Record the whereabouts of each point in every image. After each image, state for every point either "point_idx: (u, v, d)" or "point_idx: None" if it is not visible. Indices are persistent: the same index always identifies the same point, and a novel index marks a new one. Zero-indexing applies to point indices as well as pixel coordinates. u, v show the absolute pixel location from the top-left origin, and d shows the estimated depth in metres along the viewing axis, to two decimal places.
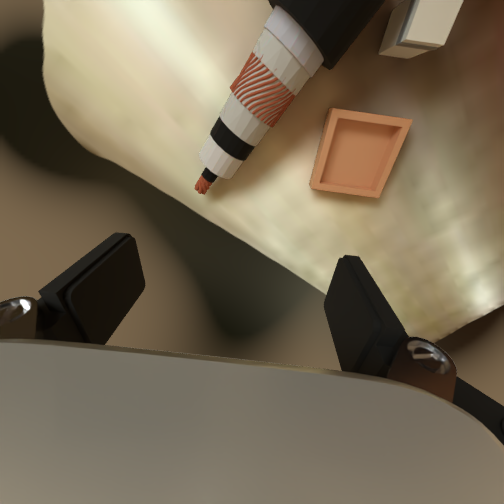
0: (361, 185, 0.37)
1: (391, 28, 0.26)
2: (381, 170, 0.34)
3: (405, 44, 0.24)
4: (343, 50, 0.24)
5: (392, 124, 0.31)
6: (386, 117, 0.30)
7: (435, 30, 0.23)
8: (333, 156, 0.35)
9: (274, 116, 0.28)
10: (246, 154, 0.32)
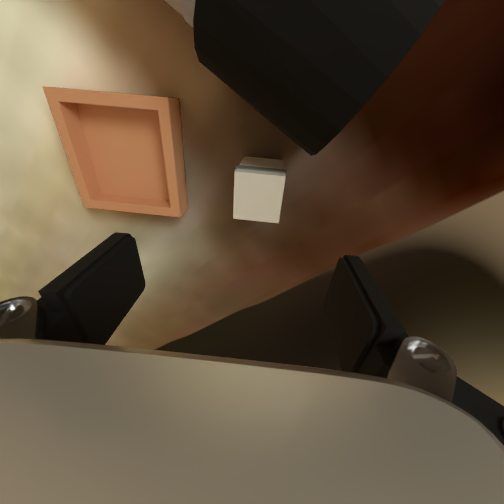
0: (99, 180, 0.25)
1: (263, 161, 0.22)
2: (121, 200, 0.25)
3: None
4: (217, 70, 0.14)
5: (170, 195, 0.24)
6: (175, 184, 0.23)
7: (244, 204, 0.19)
8: (118, 123, 0.22)
9: None
10: None
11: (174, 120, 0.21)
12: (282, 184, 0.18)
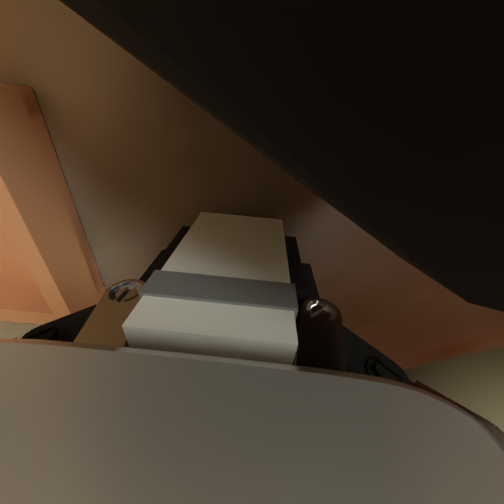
0: None
1: (237, 232, 0.09)
2: None
3: None
4: None
5: (44, 294, 0.11)
6: (47, 276, 0.10)
7: None
8: None
9: None
10: None
11: (12, 140, 0.08)
12: (286, 360, 0.05)
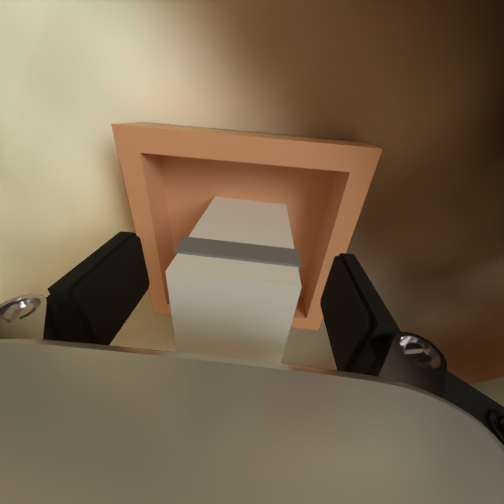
0: None
1: (248, 213, 0.11)
2: None
3: None
4: None
5: (313, 302, 0.13)
6: None
7: (199, 332, 0.08)
8: (235, 184, 0.12)
9: None
10: None
11: None
12: (292, 302, 0.07)
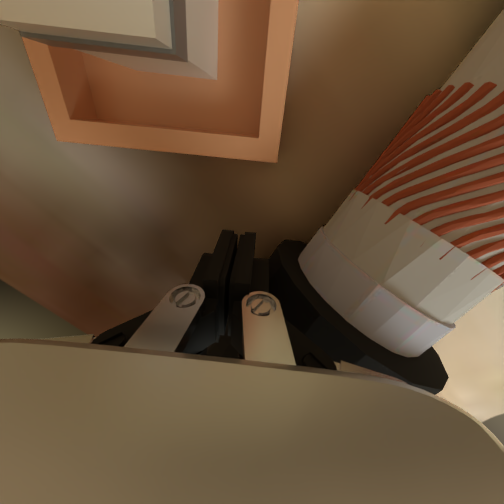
0: None
1: (208, 7, 0.08)
2: None
3: None
4: None
5: (100, 125, 0.11)
6: (127, 143, 0.11)
7: None
8: None
9: (473, 128, 0.07)
10: None
11: None
12: (126, 25, 0.05)
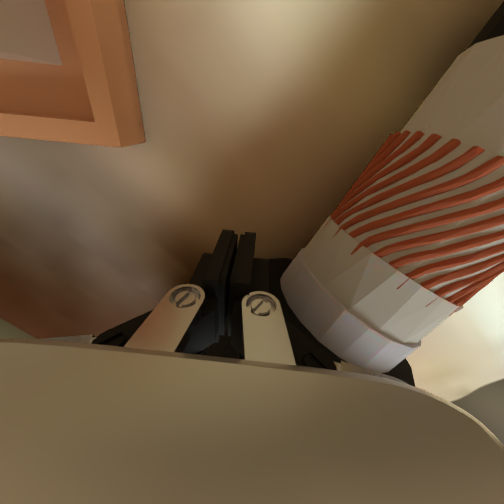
0: None
1: None
2: None
3: None
4: None
5: None
6: None
7: None
8: None
9: (422, 174, 0.08)
10: None
11: None
12: None
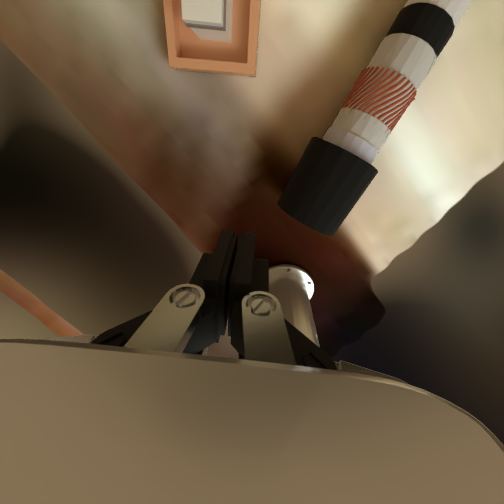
0: None
1: (229, 15, 0.26)
2: None
3: None
4: (312, 150, 0.29)
5: (187, 59, 0.28)
6: (197, 67, 0.28)
7: None
8: (239, 10, 0.27)
9: (369, 79, 0.25)
10: (405, 16, 0.23)
11: (242, 74, 0.29)
12: (215, 20, 0.22)
